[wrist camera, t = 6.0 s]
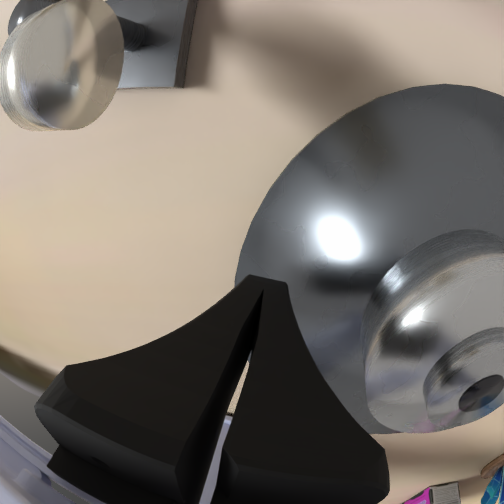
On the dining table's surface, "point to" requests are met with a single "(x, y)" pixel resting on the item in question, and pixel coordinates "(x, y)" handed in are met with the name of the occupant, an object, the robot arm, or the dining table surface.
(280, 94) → the dining table surface
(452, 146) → the turntable
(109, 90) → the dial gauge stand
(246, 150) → the dining table surface
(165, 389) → the robot arm
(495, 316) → the cover
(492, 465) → the gemstone
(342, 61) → the dining table surface
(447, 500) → the candy bar box
